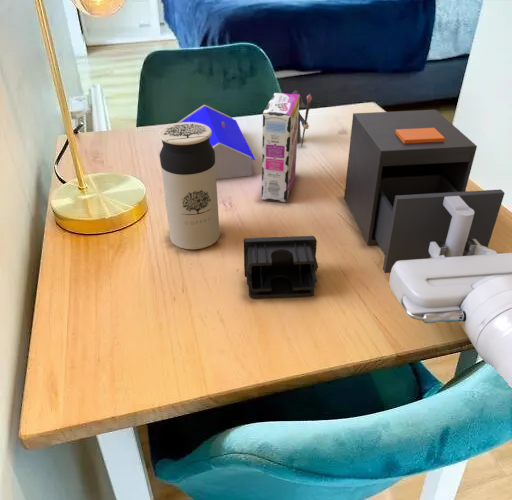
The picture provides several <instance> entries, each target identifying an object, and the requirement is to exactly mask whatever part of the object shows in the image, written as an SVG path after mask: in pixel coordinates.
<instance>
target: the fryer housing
mask: <svg viewBox="0 0 512 500" xmlns="http://www.w3.org/2000/svg"><path fill="white" fill-rule="evenodd" d="M349 141H350V142H349V148H348V149H349V150H348V160H347V167H346V178H345V187H344V196H343V199H344V202H345V204H346V205H347V208H348V209H349V212H350V213H351V216H352V218H353V219H354V222H355V223H356V225H357V227H358V230H359V231H360V234H361V236H362V237H363V239H364V242H365V243H366V245H367V246H379V244H378V242H377V240H376V238H375V237H374V235H373V228H374V221H375V214H376V207H377V201H378V194H379V187H380V181H381V177H396V176H414V175H432V174H443V175H444V176H445V177H446V178H447V180H448V181H449V182H450V183H451V184H452V185H453V186H454V187H455V188H456V190H457V191H458V192H466V189H467V186H468V183H469V179H470V178H469V177H470V174H471V170H472V167H473V163H474V160H475V156H476V151H477V148H478V146H477V145H476V144H475V143H474V142H473V141H472V140H471V139H470V138H468V136H466V134H464V133H463V132H461V130H460V129H458V128H457V127H456V126H455V125H454V124H453V123H452V122H450V120H448V119H447V118H446V117H445V116H444V115H442V114H441V112H439V111H438V110H437V109H423V110H422V109H419V110H418V109H417V110H397V111H377V112H374V111H373V112H355V113H352V120H351V129H350V140H349Z"/></svg>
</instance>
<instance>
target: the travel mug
mask: <svg viewBox="0 0 512 500" xmlns="http://www.w3.org/2000/svg"><path fill="white" fill-rule="evenodd" d="M211 134H212V131H211V129H210V128H209V127H208V126H206V125H204V124H201V123H195V122H182V123H178V122H176V123H171V124H168V125H166V126H164V127H163V128H161V129H160V130H159V132H158V138H159V139H160V140H161V143H162V147H161V150H160V152H159V161H160V169H161V177H162V185H163V192H164V199H165V208H166V209H165V210H166V216H167V225H168V230H169V231H168V232H169V239H170V241H171V243H172V244H173V245H174V246H176V247H178V248H180V249H185V250H199V249H204V248H207V247H210V246H212V245H213V244H215V243H216V242H217V241H218V240H219V238H220V233H221V232H220V216H219V202H218V201H219V199H218V186H217V185H218V184H217V183H218V182H217V179H216V165H215V151H214V149H213V147H212V146H211V144H210V142H209V141H210V136H211Z"/></svg>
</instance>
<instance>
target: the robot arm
mask: <svg viewBox="0 0 512 500" xmlns="http://www.w3.org/2000/svg"><path fill="white" fill-rule="evenodd" d="M446 249H447V247H446V246H445V244H443V241H436V242H430V246H429V253H430V255H431V257H432V258H429V259H415V260H400V261H397V262H396V263H395V264H394V265H393V267H392V269H391V273H389V281H388V285H389V289H390V290H391V292H392V294H393V295H394V297H395V299H396V300H397V302H399V304H400V305H401V307H402V309H403V311H404V313H405V314H406V316H407V317H409V318H410V319H415V320H418V321H422V323H424V324H436V323H441V322H443V323H453V322H458V323H459V325H460V327H461V329H462V330H463V331H464V333H465V335H466V336H467V338H468V340H469V341H470V343H471V344H472V346H473V348H474V349H475V351H476V352H477V354H478V355H479V357H480V358H481V359H482V361H483V362H484V363H485V364H487V365H488V364H489V365H491V366H492V367H494V369H495V370H496V372H497V373H498V374H500V376H502V377H503V378H504V380H505V381H506V382H507V383H508V385H509V386H510V387H511V388H512V252H503V253H502V252H501V253H498V252H497V251H496V250H494V249H493V248H492V249H491V248H489V247H488V248H487V247H485V246H483V245H480V243H479V242H478V241H477V240H476V239H469V240H467V242H466V245H465V249H464V253H465V255H466V256H458V257H445V254H444V253H445V252H446ZM489 365H488V366H489Z"/></svg>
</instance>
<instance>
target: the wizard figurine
mask: <svg viewBox="0 0 512 500" xmlns="http://www.w3.org/2000/svg"><path fill="white" fill-rule="evenodd" d="M291 94H298V95H300V99H299V109H300V108H301V109H305V115H304V117H303V116H302V114H301V111H299V117H298V133H297V143H298V142H300V141H301V145H300V147H303V143H304V140H305V139H304V137H305V132H306V130H308V129H309V127H310V125H309V123H308V117H309V111H310V106H311V102H312V100H313V97H312V94H311V93H309V94H308V95H306V104H305V103H304V102H303V97H302V96H301V94H300V93H299V90H297V89H296V90H293V92H292V93H291ZM301 125H302V128H303V131H302V133H301Z"/></svg>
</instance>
